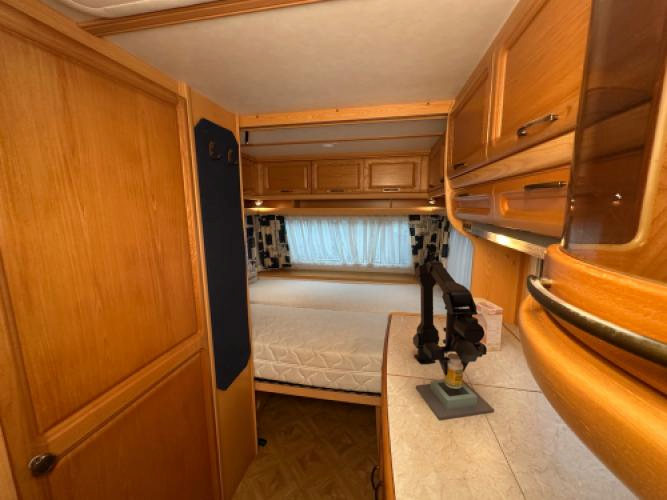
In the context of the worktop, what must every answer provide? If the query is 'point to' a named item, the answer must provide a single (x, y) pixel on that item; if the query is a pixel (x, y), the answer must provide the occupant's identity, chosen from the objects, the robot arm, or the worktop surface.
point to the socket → (453, 400)
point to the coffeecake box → (489, 323)
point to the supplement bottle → (454, 372)
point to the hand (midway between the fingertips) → (453, 373)
